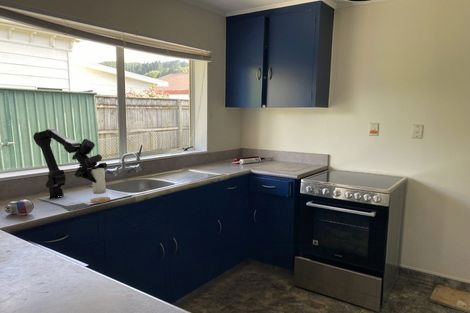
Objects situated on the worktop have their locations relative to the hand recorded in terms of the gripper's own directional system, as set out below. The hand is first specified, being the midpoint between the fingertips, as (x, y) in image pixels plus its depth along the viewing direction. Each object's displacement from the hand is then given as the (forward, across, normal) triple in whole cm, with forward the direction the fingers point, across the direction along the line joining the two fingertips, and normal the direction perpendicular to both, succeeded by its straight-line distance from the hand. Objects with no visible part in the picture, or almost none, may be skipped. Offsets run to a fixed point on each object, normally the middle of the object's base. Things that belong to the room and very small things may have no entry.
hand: (100, 181), depth 183 cm
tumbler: (+4, 0, +6) cm, 7 cm away
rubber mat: (+6, -14, +10) cm, 18 cm away
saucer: (+7, 0, +9) cm, 11 cm away
